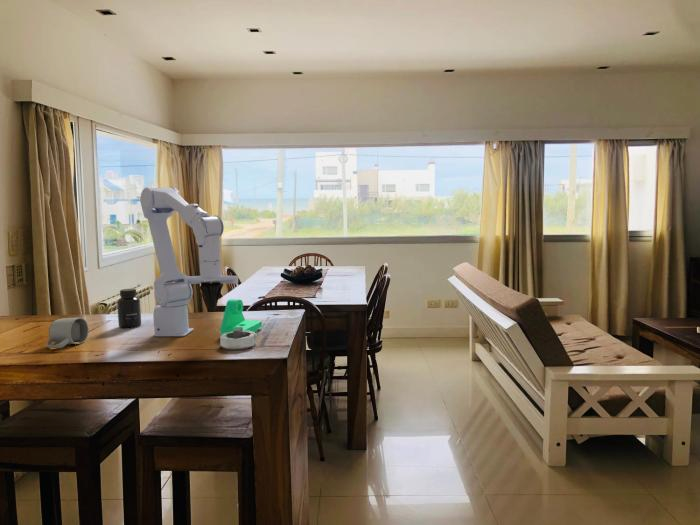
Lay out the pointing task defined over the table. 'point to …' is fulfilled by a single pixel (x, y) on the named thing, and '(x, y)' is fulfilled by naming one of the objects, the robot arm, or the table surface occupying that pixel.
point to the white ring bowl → (238, 341)
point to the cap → (238, 332)
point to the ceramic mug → (67, 332)
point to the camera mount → (237, 318)
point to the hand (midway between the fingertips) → (213, 309)
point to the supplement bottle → (129, 309)
